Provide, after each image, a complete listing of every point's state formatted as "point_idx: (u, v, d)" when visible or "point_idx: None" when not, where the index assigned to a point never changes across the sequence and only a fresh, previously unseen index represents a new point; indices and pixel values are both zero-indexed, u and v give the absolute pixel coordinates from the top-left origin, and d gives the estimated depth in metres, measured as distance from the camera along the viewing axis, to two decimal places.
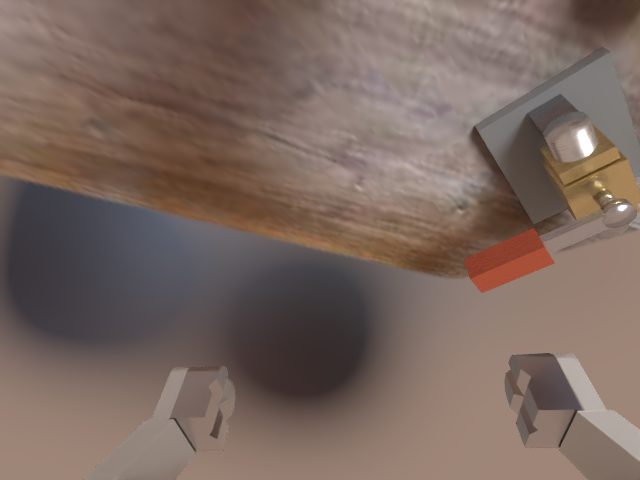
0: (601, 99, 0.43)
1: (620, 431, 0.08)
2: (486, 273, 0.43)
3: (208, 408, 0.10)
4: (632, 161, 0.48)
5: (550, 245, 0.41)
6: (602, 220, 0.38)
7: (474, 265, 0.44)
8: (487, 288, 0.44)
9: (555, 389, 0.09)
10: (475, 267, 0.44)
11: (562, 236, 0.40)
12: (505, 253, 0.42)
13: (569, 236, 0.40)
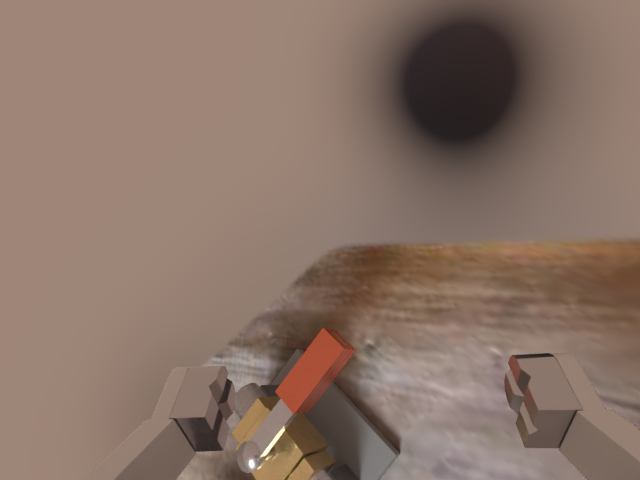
0: None
1: (620, 431, 0.08)
2: (330, 361, 0.37)
3: (208, 408, 0.10)
4: None
5: (287, 407, 0.39)
6: (259, 450, 0.39)
7: (344, 356, 0.38)
8: (320, 336, 0.38)
9: (555, 389, 0.09)
10: (343, 356, 0.38)
11: (283, 422, 0.39)
12: (322, 384, 0.38)
13: (276, 422, 0.39)
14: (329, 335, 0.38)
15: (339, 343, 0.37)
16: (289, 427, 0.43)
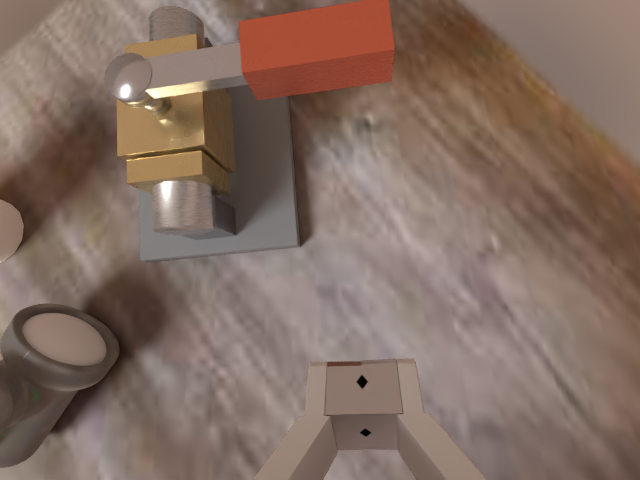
0: None
1: (428, 434, 0.09)
2: (358, 49, 0.20)
3: (363, 404, 0.10)
4: None
5: (236, 62, 0.22)
6: (151, 81, 0.22)
7: (376, 69, 0.21)
8: (373, 5, 0.20)
9: (385, 394, 0.10)
10: (375, 65, 0.21)
11: (214, 75, 0.22)
12: (312, 76, 0.22)
13: (205, 68, 0.22)
14: (388, 14, 0.20)
15: None
16: (209, 104, 0.27)
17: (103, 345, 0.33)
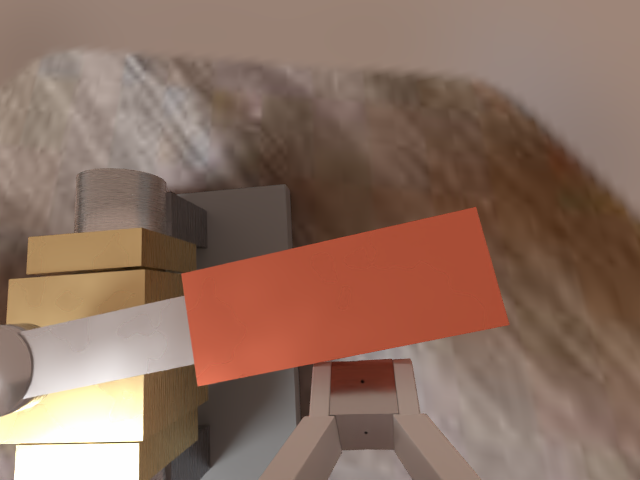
0: None
1: (423, 434, 0.09)
2: (432, 328, 0.10)
3: (367, 404, 0.10)
4: None
5: (188, 335, 0.11)
6: (33, 381, 0.12)
7: None
8: (448, 227, 0.10)
9: (381, 394, 0.10)
10: None
11: (148, 364, 0.11)
12: None
13: (130, 349, 0.12)
14: (482, 246, 0.10)
15: None
16: None
17: None
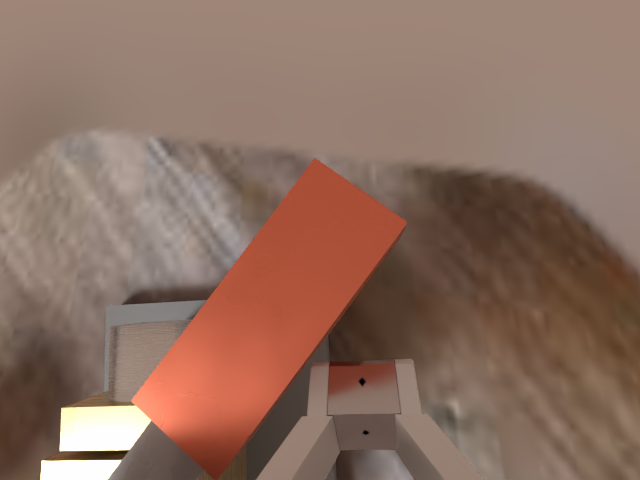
0: None
1: (425, 434, 0.09)
2: (356, 272, 0.10)
3: (365, 404, 0.10)
4: None
5: None
6: None
7: (384, 256, 0.11)
8: (308, 188, 0.10)
9: (383, 394, 0.10)
10: (384, 256, 0.11)
11: None
12: (311, 354, 0.11)
13: None
14: (343, 182, 0.10)
15: None
16: None
17: None
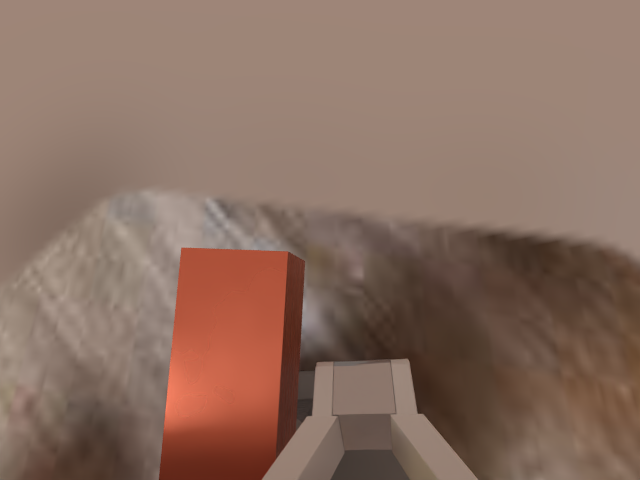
0: None
1: (420, 434, 0.09)
2: (273, 319, 0.10)
3: (370, 404, 0.10)
4: None
5: None
6: None
7: (295, 286, 0.12)
8: (191, 277, 0.11)
9: (378, 394, 0.10)
10: (293, 287, 0.12)
11: None
12: (287, 409, 0.11)
13: None
14: (217, 252, 0.11)
15: None
16: None
17: None
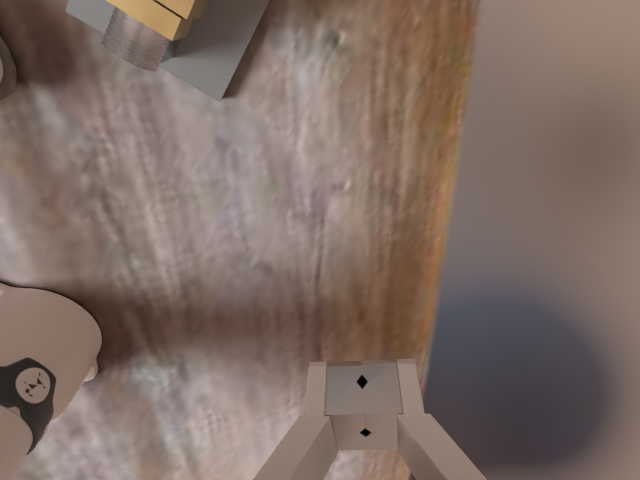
0: None
1: (428, 434, 0.09)
2: None
3: (363, 404, 0.10)
4: None
5: None
6: None
7: None
8: None
9: (385, 394, 0.10)
10: None
11: None
12: None
13: None
14: None
15: None
16: None
17: (1, 67, 0.34)
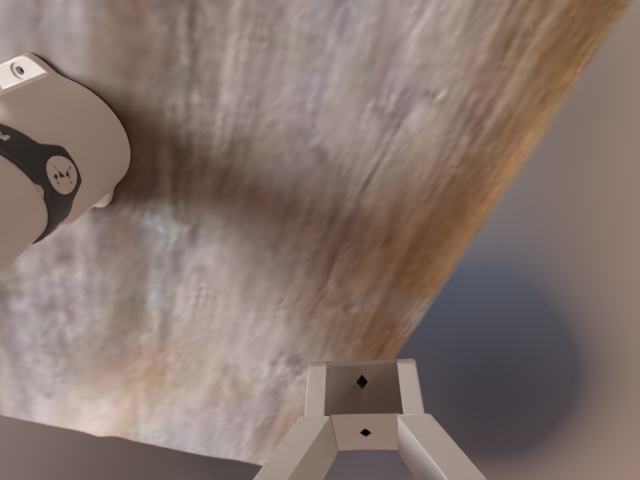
0: None
1: (428, 434, 0.09)
2: None
3: (362, 404, 0.10)
4: None
5: None
6: None
7: None
8: None
9: (385, 394, 0.10)
10: None
11: None
12: None
13: None
14: None
15: None
16: None
17: None
